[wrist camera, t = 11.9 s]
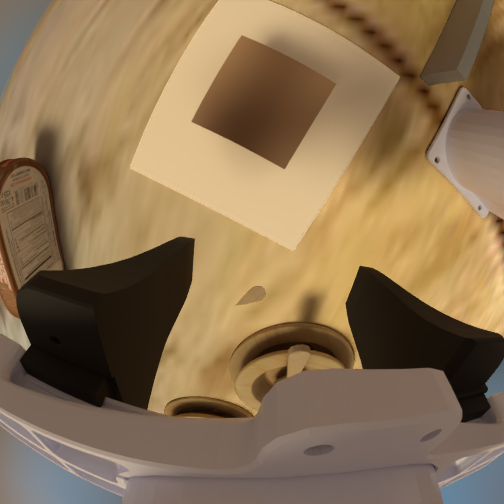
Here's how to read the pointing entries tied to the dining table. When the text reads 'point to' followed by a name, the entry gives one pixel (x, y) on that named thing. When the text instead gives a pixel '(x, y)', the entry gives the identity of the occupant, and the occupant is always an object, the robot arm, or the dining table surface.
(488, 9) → the open box
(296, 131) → the walnut block
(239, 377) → the tableware set
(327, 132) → the mat
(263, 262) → the dining table surface
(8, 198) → the tin
